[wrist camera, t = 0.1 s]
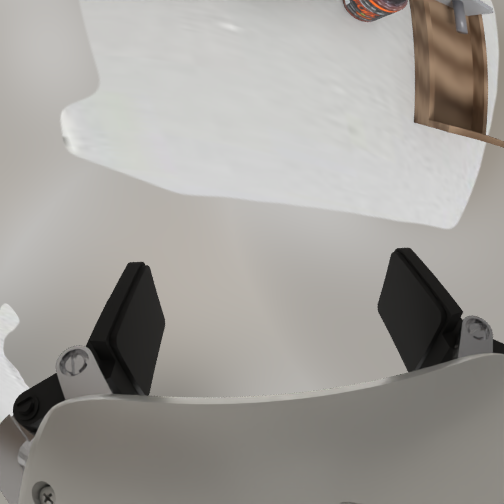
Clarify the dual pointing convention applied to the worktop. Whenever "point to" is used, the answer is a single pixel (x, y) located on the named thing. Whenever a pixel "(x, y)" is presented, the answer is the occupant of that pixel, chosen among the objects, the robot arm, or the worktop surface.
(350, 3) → the supplement bottle
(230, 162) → the worktop surface
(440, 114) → the pusher lane
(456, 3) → the pusher plate
